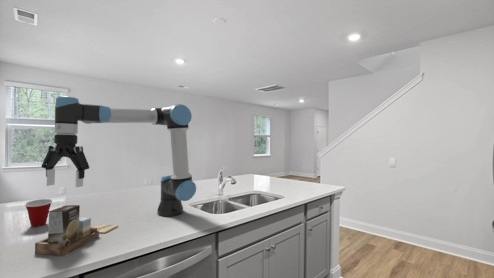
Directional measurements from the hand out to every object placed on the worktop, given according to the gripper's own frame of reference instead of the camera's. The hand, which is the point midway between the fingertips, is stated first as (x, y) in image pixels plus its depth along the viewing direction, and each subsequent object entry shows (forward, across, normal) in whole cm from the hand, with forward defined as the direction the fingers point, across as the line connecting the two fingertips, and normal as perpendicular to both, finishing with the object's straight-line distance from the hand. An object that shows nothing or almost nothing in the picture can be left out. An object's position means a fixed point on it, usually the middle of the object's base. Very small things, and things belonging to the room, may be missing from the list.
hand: (64, 185), depth 95 cm
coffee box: (+25, 0, 0) cm, 25 cm away
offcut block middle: (+22, 0, +8) cm, 24 cm away
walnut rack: (+25, 0, +3) cm, 25 cm away
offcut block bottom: (+25, 0, +8) cm, 27 cm away
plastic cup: (+25, -35, +19) cm, 47 cm away
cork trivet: (+25, +1, +20) cm, 32 cm away
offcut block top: (+19, 0, +8) cm, 21 cm away
